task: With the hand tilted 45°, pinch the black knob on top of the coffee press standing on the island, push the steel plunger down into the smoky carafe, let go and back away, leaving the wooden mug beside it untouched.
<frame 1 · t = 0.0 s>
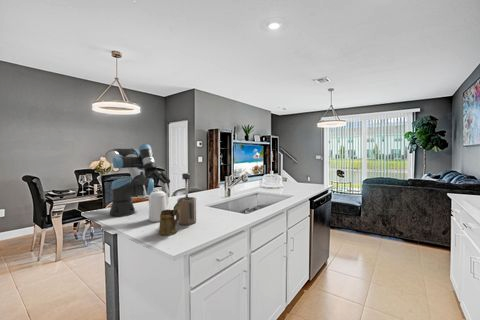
hand: (157, 194, 142), 15 cm above the counter, tool tilted 35°, fingers open, 13 cm apart
press carafe: (187, 222, 135), on the counter
plunger: (186, 189, 134), point 19 cm above the counter, slide at 0.0 cm
coffeepot: (157, 220, 141), on the counter
wooden mug: (171, 233, 118), on the counter
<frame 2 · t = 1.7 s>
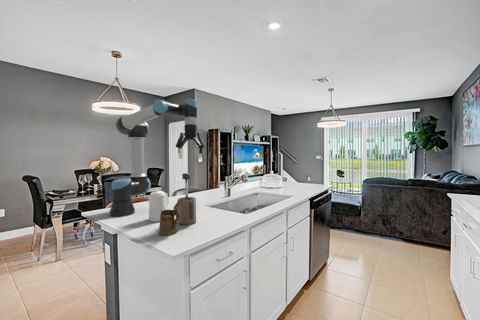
hand: (189, 158, 145), 37 cm above the counter, tool pointing down, fingers open, 13 cm apart
nothing on the counter moved.
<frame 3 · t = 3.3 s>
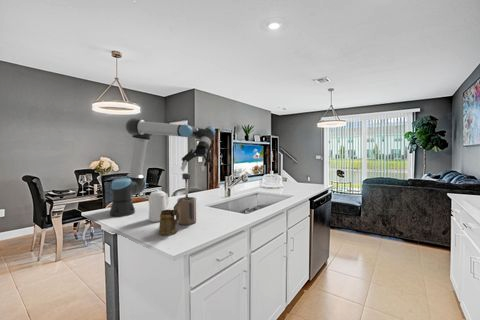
hand: (191, 169, 139), 30 cm above the counter, tool tilted 45°, fingers open, 13 cm apart
nothing on the counter moved.
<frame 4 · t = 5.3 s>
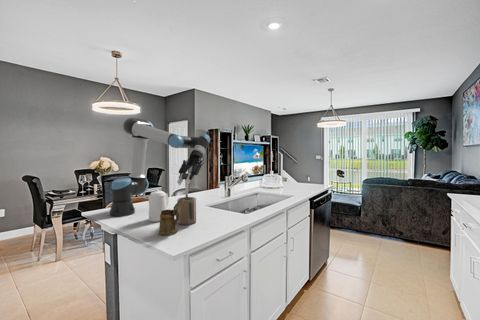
hand: (182, 183, 131), 23 cm above the counter, tool tilted 45°, fingers closed on plunger, 4 cm apart
plunger: (186, 189, 134), point 19 cm above the counter, slide at 0.0 cm, touching gripper
everything else where it was.
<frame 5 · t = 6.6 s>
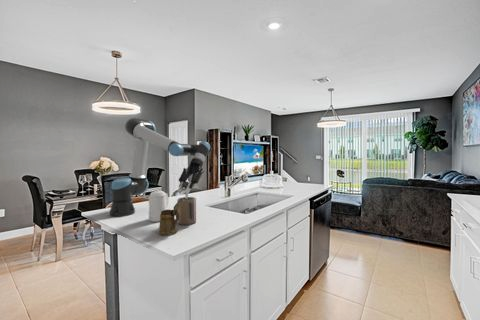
hand: (182, 192, 131), 18 cm above the counter, tool tilted 45°, fingers closed on plunger, 4 cm apart
plunger: (186, 197, 134), point 14 cm above the counter, slide at 4.9 cm, touching gripper
everything else where it was.
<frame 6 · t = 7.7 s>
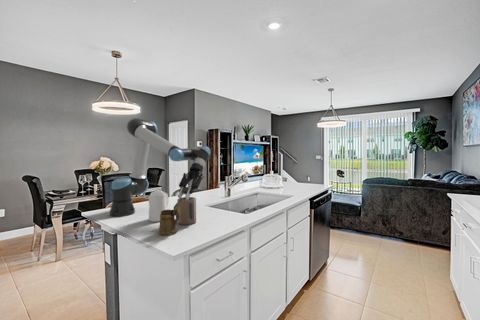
hand: (182, 197, 131), 15 cm above the counter, tool tilted 45°, fingers closed on plunger, 4 cm apart
plunger: (186, 203, 135), point 11 cm above the counter, slide at 8.0 cm, touching gripper
everything else where it was.
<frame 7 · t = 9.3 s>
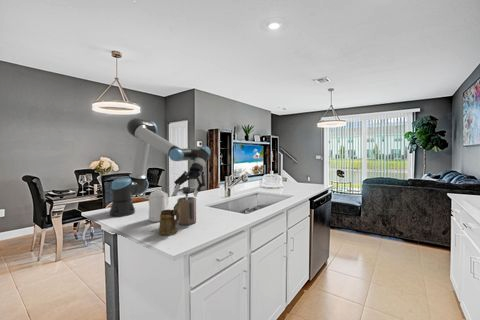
hand: (184, 194, 132), 17 cm above the counter, tool tilted 45°, fingers open, 13 cm apart
plunger: (186, 203, 135), point 11 cm above the counter, slide at 8.0 cm
everything else where it was.
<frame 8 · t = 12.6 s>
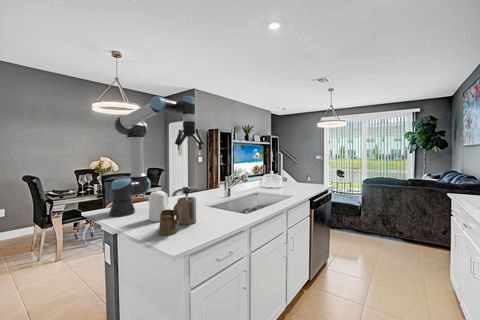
hand: (189, 155, 147), 39 cm above the counter, tool pointing down, fingers open, 13 cm apart
nothing on the counter moved.
at the end: plunger slide at 8.0 cm; the gripper is holding nothing; wooden mug moved 0.2 cm from its start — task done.
